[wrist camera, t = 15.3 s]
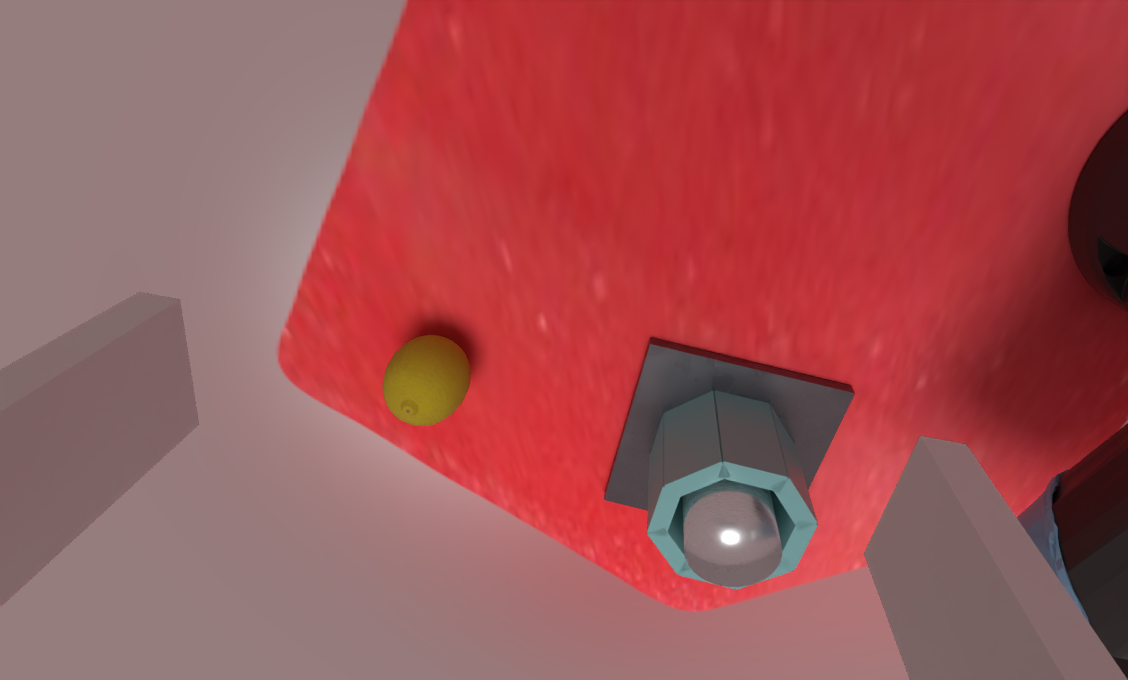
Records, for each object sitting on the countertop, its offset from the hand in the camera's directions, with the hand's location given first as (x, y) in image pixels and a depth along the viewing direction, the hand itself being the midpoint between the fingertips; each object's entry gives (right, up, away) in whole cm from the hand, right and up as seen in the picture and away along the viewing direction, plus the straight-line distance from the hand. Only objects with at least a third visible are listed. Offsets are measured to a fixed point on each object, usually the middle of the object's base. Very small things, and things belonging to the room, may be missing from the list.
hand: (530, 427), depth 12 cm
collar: (+12, -6, +36) cm, 38 cm away
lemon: (-8, +1, +36) cm, 37 cm away
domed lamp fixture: (+12, -6, +37) cm, 39 cm away
